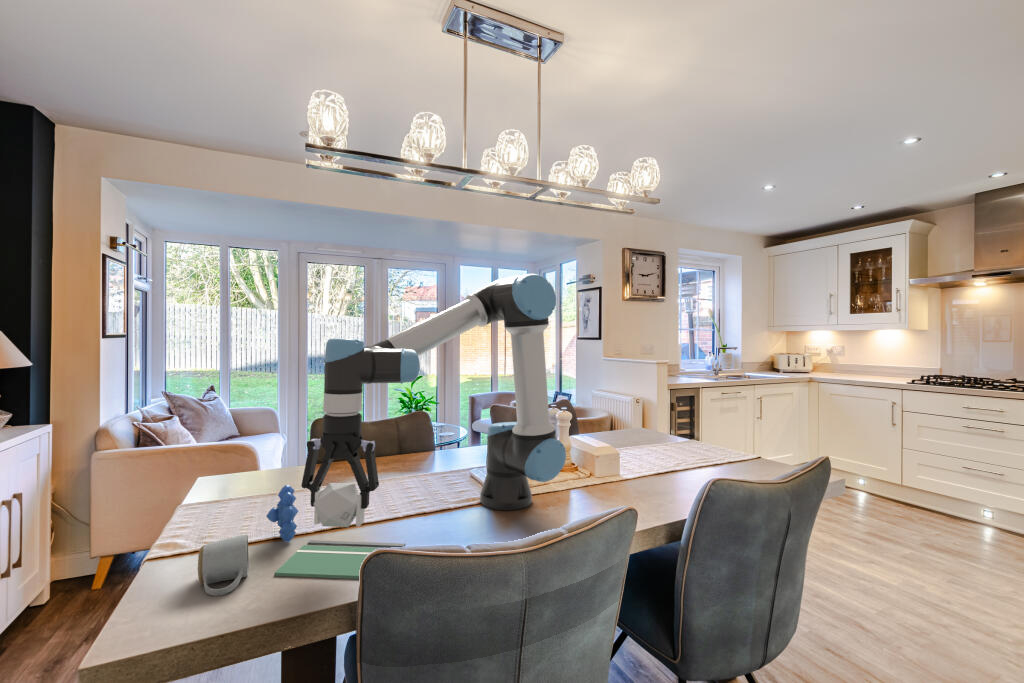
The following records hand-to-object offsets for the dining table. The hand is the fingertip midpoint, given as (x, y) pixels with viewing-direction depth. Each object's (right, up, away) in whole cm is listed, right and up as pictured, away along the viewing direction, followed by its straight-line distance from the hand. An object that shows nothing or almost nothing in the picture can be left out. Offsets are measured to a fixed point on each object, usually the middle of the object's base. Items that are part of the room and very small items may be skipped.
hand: (339, 522), depth 95 cm
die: (0, -1, 0) cm, 1 cm away
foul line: (0, -9, +10) cm, 13 cm away
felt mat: (0, -9, +1) cm, 9 cm away
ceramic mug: (-19, -9, -7) cm, 22 cm away
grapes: (-18, -9, +12) cm, 23 cm away
